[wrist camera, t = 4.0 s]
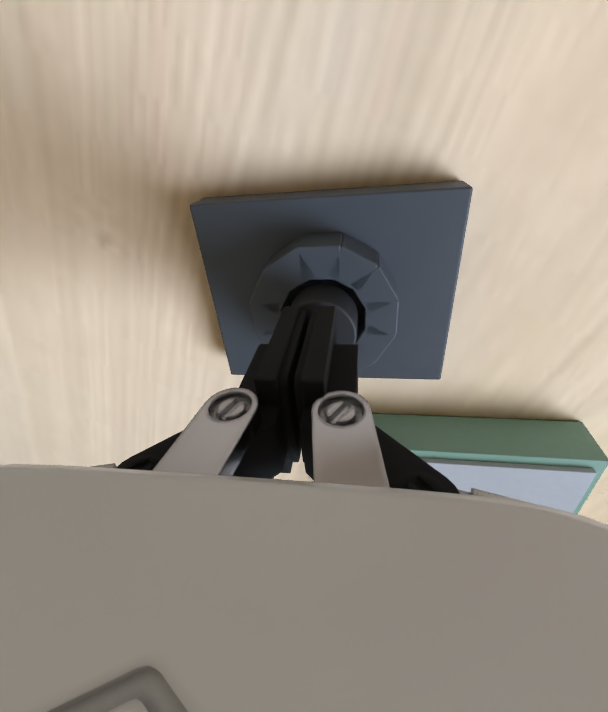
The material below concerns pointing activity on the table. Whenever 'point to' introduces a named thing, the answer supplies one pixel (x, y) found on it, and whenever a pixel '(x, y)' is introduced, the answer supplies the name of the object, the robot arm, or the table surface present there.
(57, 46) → the table surface
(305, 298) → the power button
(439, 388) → the table surface
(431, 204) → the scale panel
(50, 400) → the table surface
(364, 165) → the table surface
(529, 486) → the scale
